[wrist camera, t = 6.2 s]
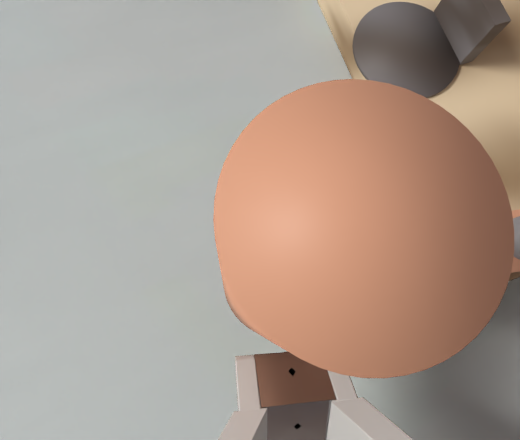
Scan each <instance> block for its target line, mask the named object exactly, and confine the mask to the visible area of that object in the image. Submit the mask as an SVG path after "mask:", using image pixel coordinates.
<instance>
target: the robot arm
mask: <svg viewBox="0 0 520 440" xmlns="http://www.w3.org/2000/svg"><path fill="white" fill-rule="evenodd" d="M235 368H236V387H237V405H238V411H234V412H233V413H232V415H231V417H230V419H229V420H228V422H227V424H226V426H225V428H224V429H223V431H222V433H221V435H220V436H219V438H218V440H413V439H412V438H410V437H409V436H408V435H407V434H406V433H405V432H403V431H402V430H401V429H400V428H399V427H398V426H396V425H395V424H394V423H393V422H392V421H390V420H389V419H388V418H387V417H386V416H385V415H383V414H382V413H381V412H380V411H379V410H377V409H376V408H375V407H374V406H373V405H372V404H370V403H369V402H368V401H367V400H366V399H365V398H363V397H362V398H358V397H357V394H356V392H355V389H354V386H353V383H352V381H351V378H350V376H348V375H342V374H338V373H335V372H332V371H328V370H325V369H322V368H319V367H317V366H315V365H313V364H310V363H308V362H306V361H304V360H302V359H300V358H298V357H296V356H295V355H293V354H291V353H290V352H284V353H270V354H255V355H254V356H253V355H244V356H235Z"/></svg>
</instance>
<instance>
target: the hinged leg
mask: <svg viewBox="0 0 520 440" xmlns="http://www.w3.org/2000/svg"><path fill="white" fill-rule="evenodd" d="M214 231H215V241H216V247H217V252H218V258H219V263H220V269H221V274H222V280H223V285H224V290H225V295H226V299H227V301H228V304H229V306H230V308H231V310H232V311H233V313H234V314H235V316H236V317H237V318H238V319H239V320H240V321H241V322H242V323H243V324H244V325H245V326H246V327H248V328H250V329H251V330H253V331H254V332H256V333H258V334H259V335H261V336H263V337H264V338H266V339H268V340H269V341H271V342H273V343H274V344H276V345H278V346H280V347H281V348H283V349H285V350H286V351H288V352H290V353H291V354H293V355H295V356H296V357H298V358H300V359H302V360H304V361H306V362H308V363H310V364H313V365H315V366H317V367H319V368H322V369H325V370H328V371H332V372H335V373H338V374H342V375H348V376H354V377H361V378H389V377H397V376H405V375H409V374H412V373H416V372H419V371H423V370H426V369H428V368H430V367H433V366H435V365H437V364H439V363H442V362H444V361H445V360H447V359H448V358H450V357H452V356H453V355H455V354H456V353H458V352H459V351H461V350H462V349H463V348H464V347H465V346H467V345H468V344H469V343H470V342H471V341H472V340H473V339H475V338H476V337H477V335H478V334H479V333H480V332H481V331H482V330H483V328H484V327H485V326H486V325H487V324H488V322H489V321H490V319H491V318H492V316H493V314H494V313H495V311H496V310H497V308H498V306H499V304H500V302H501V300H502V297H503V295H504V293H505V291H506V288H507V285H508V281H509V278H510V274H511V273H514V272H519V271H520V209H518V210H511V206H510V202H509V198H508V194H507V192H506V189H505V187H504V184H503V181H502V179H501V176H500V174H499V172H498V170H497V169H496V167H495V165H494V163H493V161H492V159H491V158H490V156H489V155H488V153H487V152H486V150H485V149H484V147H483V146H482V145H481V143H480V142H479V141H478V140H477V139H476V137H475V136H474V135H473V134H472V133H471V132H470V130H469V129H468V128H467V127H465V126H464V125H463V124H462V123H461V122H460V121H459V120H458V119H457V118H456V117H455V116H453V115H452V114H450V113H449V112H448V111H446V110H445V109H444V108H442V107H441V106H440V105H438V104H436V103H434V102H433V101H431V100H429V99H427V98H426V97H424V96H422V95H419V94H417V93H415V92H413V91H410V90H408V89H405V88H402V87H399V86H395V85H392V84H389V83H383V82H378V81H372V80H360V79H346V80H333V81H327V82H322V83H317V84H313V85H310V86H307V87H304V88H301V89H298V90H296V91H294V92H292V93H290V94H288V95H285V96H284V97H282V98H280V99H279V100H277V101H276V102H274V103H272V104H271V105H269V106H268V107H267V108H266V109H264V110H263V111H262V112H261V113H260V114H258V115H257V116H256V117H255V118H254V119H253V120H252V121H251V122H250V123H249V125H248V126H247V127H246V128H245V129H244V130H243V131H242V133H241V134H240V136H239V137H238V139H237V140H236V142H235V143H234V144H233V146H232V148H231V150H230V152H229V154H228V156H227V158H226V160H225V162H224V165H223V168H222V171H221V174H220V177H219V180H218V184H217V189H216V195H215V201H214Z"/></svg>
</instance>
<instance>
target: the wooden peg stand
mask: <svg viewBox="0 0 520 440" xmlns="http://www.w3.org/2000/svg"><path fill="white" fill-rule="evenodd" d="M317 1H318V3H319V5H320V8H321V10H322V12H323V14H324V16H325V19H326V21H327V23H328V25H329V28H330V30H331V32H332V34H333V36H334V39H335V41H336V43H337V45H338V48H339V50H340V52H341V54H342V56H343V59H344V61H345V63H346V65H347V68H348V70H349V72H350V74H351V76H352V79H360V80H372V81H378V82H383V83H389V84H392V85H395V86H399V87H402V88H405V89H408V90H410V91H413V92H415V93H417V94H419V95H422V96H424V97H426V98H427V99H429V100H431V101H433V102H434V103H436V104H438V105H440V106H441V107H442V108H444V109H445V110H446V111H448V112H449V113H450V114H452V115H453V116H455V117H456V118H457V119H458V120H459V121H460V122H461V123H462V124H463V125H464V126H465V127H467V128H468V129H469V130H470V132H471V133H472V134H473V135H474V136H475V137H476V139H477V140H478V141H479V142H480V143H481V145H482V146H483V147H484V149H485V150H486V152H487V153H488V155H489V156H490V158H491V159H492V161H493V163H494V165H495V167H496V169H497V170H498V172H499V174H500V176H501V179H502V181H503V184H504V187H505V189H506V192H507V194H508V198H509V202H510V206H511V210H518V209H520V0H317ZM518 277H520V271H519V272H514V273H511V274H510V278H509V281H511V280H513V279H516V278H518Z"/></svg>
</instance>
